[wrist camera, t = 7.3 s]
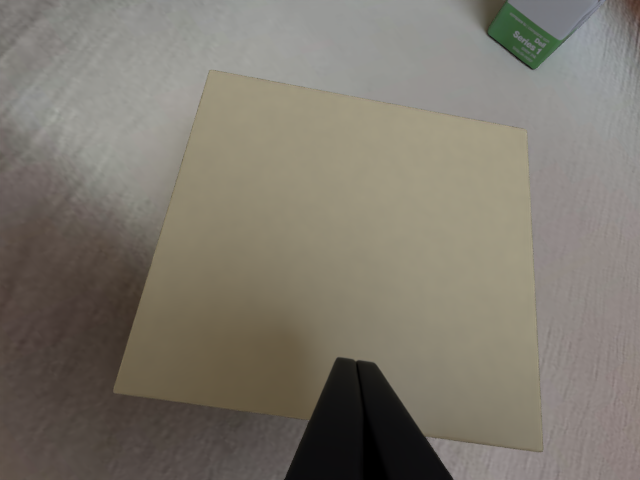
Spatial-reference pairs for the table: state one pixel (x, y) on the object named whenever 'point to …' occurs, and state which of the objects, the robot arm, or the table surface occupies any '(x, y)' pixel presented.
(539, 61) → the ink box
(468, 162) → the lid
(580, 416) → the table surface
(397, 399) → the robot arm
